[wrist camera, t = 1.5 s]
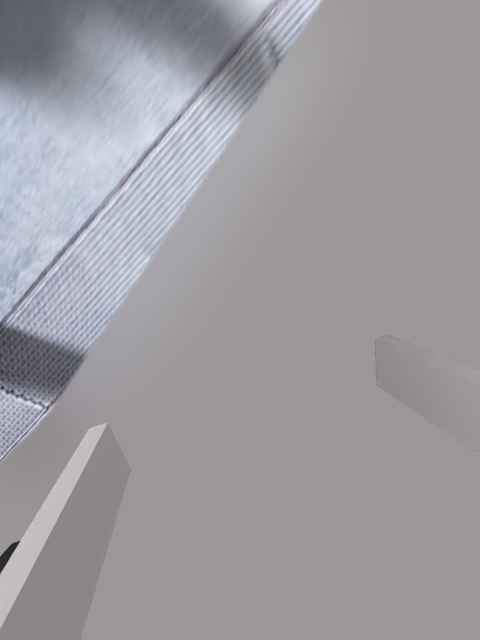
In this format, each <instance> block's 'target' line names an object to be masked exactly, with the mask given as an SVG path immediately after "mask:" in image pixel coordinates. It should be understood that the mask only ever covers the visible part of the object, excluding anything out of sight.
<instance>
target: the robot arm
mask: <svg viewBox="0 0 480 640" xmlns="http://www.w3.org/2000/svg"><path fill="white" fill-rule="evenodd" d="M375 354H376V355H375V356H376V376H377V377H376V379H377V385H378V386H379V387H380V388H382V389H383V390H385V391H386V392H388V393H389V394H391V395H392V396H393V397H395V398H396V399H398V400H399V401H401V402H402V403H403V404H405V405H406V406H408V407H409V408H411V409H412V410H414V411H415V412H416V413H418V414H419V415H421V416H422V417H424V418H425V419H427V420H428V421H430V422H431V423H432V424H434V425H435V426H437V427H438V428H440V429H441V430H442V431H444V432H446V433H447V434H448V435H450V436H451V437H453V438H454V439H456V440H457V441H458V442H460V443H461V444H463V445H464V446H466V447H467V448H468V449H470V450H471V451H473V452H474V453H476V454H477V455H478V456H480V371H478V370H475V369H473V368H470V367H468V366H465V365H462V364H460V363H457V362H455V361H452V360H450V359H447V358H445V357H442V356H440V355H437V354H435V353H432V352H429V351H427V350H425V349H422V348H420V347H417V346H415V345H412V344H410V343H407V342H404V341H402V340H399V339H397V338H394V337H392V336H389V335H386V336H383V337H380V338H377V339H375ZM130 471H131V468H130V466H129V464H128V462H127V460H126V458H125V456H124V454H123V452H122V450H121V448H120V446H119V444H118V442H117V440H116V438H115V436H114V434H113V432H112V430H111V428H110V426H109V424H108V423H105V424H102V425H99V426H95V427H92V428H90V429H89V430H88V432H87V433H86V435H85V437H84V438H83V440H82V441H81V443H80V445H79V446H78V448H77V450H76V451H75V453H74V455H73V456H72V458H71V459H70V461H69V463H68V464H67V466H66V468H65V469H64V471H63V473H62V474H61V476H60V477H59V479H58V481H57V482H56V484H55V486H54V487H53V489H52V490H51V492H50V494H49V496H48V497H47V499H46V500H45V502H44V504H43V505H42V507H41V509H40V510H39V512H38V513H37V515H36V517H35V518H34V520H33V522H32V523H31V525H30V526H29V528H28V530H27V531H26V533H25V535H24V536H23V538H22V540H21V541H18V542H15V543H13V544H11V545H10V546H9V548H8V549H7V550H6V551H5V552H4V553H3V554H2V555H1V557H0V640H80V639H81V636H82V632H83V629H84V625H85V622H86V619H87V616H88V612H89V609H90V605H91V602H92V599H93V595H94V592H95V588H96V585H97V581H98V578H99V575H100V572H101V568H102V565H103V562H104V558H105V555H106V551H107V548H108V545H109V541H110V538H111V534H112V531H113V528H114V525H115V521H116V518H117V514H118V511H119V508H120V504H121V501H122V498H123V494H124V491H125V487H126V484H127V481H128V477H129V474H130Z"/></svg>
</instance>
